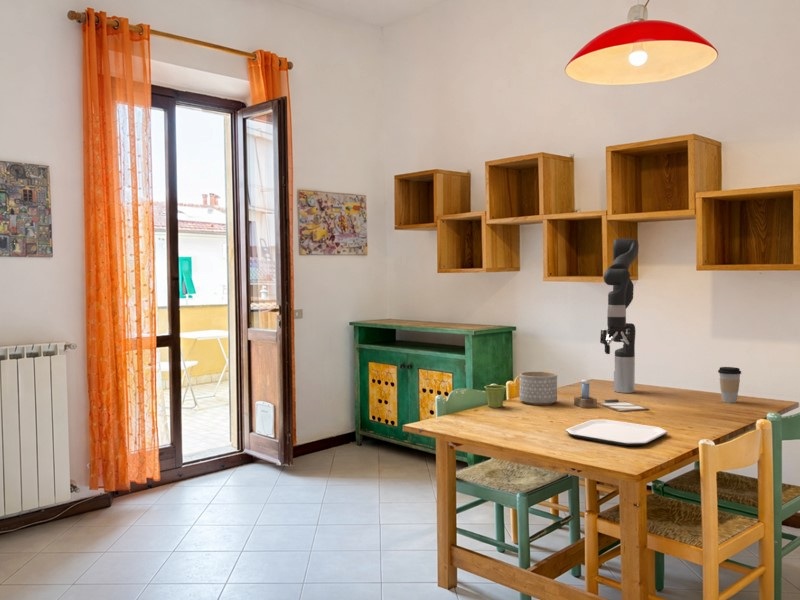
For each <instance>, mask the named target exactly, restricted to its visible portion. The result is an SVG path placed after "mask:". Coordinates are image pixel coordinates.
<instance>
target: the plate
mask: <svg viewBox="0 0 800 600" xmlns="http://www.w3.org/2000/svg"><path fill="white" fill-rule="evenodd" d="M565 432H567V433H568V434H569V435H570V436H573V437H575V438H578V439H583V440H588V441H593V442H594V441H595V442H601V443H606V444H610V445H611V444H612V445H616V446H617V445H618V446H624V447H639V446H643V445H646V444H649V443H651V442H653V441H654V440H656V439H659V438H660V437H663V436H665V435H667V434H669V433H668V431H667V430H665V429H664V428H661V427H659V426H653V425H646V424H645V425H644V424H640V423H639V424H638V423H633V422H625V421H620V420H612V419H590V420H586V421H585V422H582V423H579V424H576V425H574V426H571V427H568V428H566V429H565Z"/></svg>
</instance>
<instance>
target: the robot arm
mask: <svg viewBox="0 0 800 600" xmlns="http://www.w3.org/2000/svg"><path fill="white" fill-rule="evenodd" d="M638 254H639V241H638V240H637V239H635V238H615V239H614V240H613V243H612V260H613V262H612V264H611V265H610V266H609V267H608V268H606V270H605V271H604V274H603V281H604V283H605V284H606V285H607V286H612V291H608V294H607V312H606V313H607V318H606V319H607V323H606V324H607V329H604V328H603V329H601V330H600V337H599V338H600V341H599V342H600V344H602V345H604V353H605V354H607V355H610V353H611V343H612V342H614V343H623V344H622V347H619V348H617V349H616V350H614V371H613V391H614V392H617V393H622V394H623V393H624V394H631V393H635V389H636V388H635V386H636V383H635V379H636V377H635V374H636V370H635V369H636V367H635V366H636V359H635V358H636V354H635V351H636V350H635V348H636V347H635V345H636V343H635V342H636V326H635V324H634V323H630V322H629V323H627V308H629V306H630V305H631V303H632V302H633V299H634V290H635V289H634V283H633V281H632V279H631V273H630V270H629V268H630V265H631V264H632V263H634V260H635V259H636V258H637V256H638Z"/></svg>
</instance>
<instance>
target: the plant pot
mask: <svg viewBox="0 0 800 600" xmlns="http://www.w3.org/2000/svg"><path fill="white" fill-rule="evenodd" d="M506 389H507V385H500V384H499V385H498V384H490V385H489V384H488V385H485V386H484V390H485V393H486V399H487V400H486V401H487V406H488V407H490V408H492V409H493V408H502V407H504V406H503V405H504V398H505V392H506Z"/></svg>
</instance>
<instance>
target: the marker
mask: <svg viewBox="0 0 800 600" xmlns="http://www.w3.org/2000/svg"><path fill="white" fill-rule="evenodd" d="M580 383H581V396H582V398H583V399H589V396H590V383H591V382H590V379H581V382H580Z"/></svg>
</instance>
